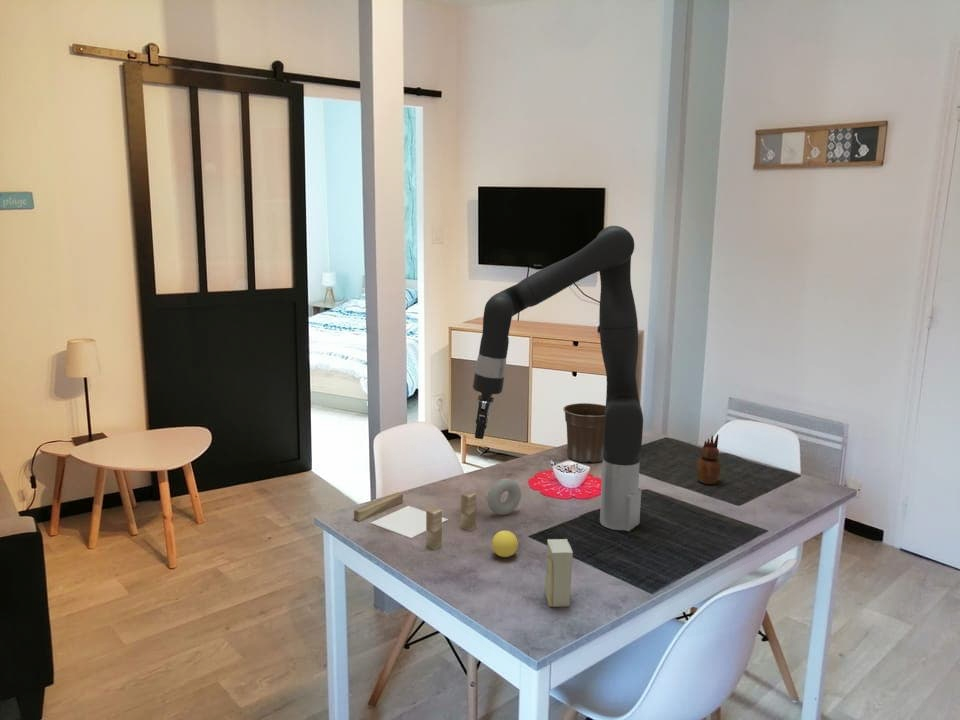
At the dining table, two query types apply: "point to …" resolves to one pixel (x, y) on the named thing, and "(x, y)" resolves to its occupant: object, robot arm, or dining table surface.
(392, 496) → the wall
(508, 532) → the ball
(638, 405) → the robot arm
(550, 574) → the skincare box
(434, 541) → the post left
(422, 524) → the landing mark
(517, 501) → the donut
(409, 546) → the dining table surface
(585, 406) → the plant pot
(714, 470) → the wooden figurine
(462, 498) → the post right
